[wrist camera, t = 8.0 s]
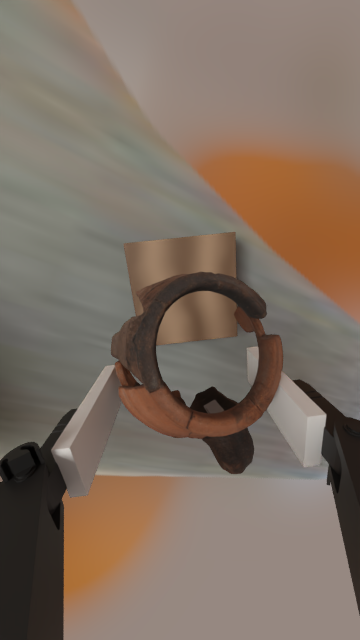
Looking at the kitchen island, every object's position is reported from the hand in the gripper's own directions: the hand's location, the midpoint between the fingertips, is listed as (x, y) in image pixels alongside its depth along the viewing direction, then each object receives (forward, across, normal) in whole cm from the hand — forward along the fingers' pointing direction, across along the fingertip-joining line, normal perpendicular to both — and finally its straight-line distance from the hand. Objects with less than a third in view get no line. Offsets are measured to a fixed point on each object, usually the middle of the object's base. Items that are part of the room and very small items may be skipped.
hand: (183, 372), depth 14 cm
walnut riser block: (+18, +1, +4) cm, 19 cm away
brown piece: (+2, 0, 0) cm, 2 cm away
